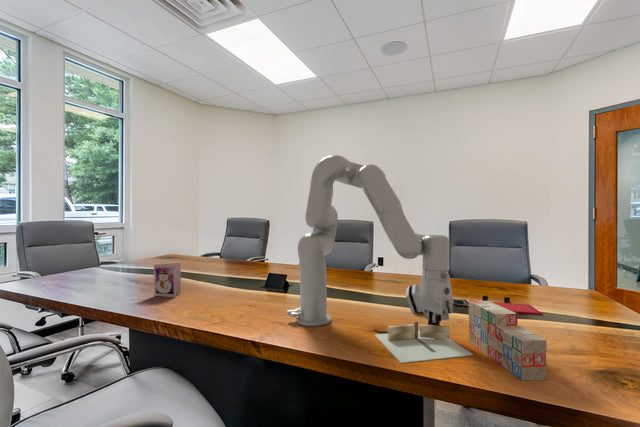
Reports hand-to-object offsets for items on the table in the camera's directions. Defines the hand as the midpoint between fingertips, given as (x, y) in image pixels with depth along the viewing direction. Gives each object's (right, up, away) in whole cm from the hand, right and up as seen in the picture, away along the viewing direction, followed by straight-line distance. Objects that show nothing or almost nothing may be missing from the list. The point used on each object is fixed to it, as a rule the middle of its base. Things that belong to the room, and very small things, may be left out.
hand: (433, 333), depth 92 cm
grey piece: (+4, -2, +29) cm, 29 cm away
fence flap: (-1, 0, -3) cm, 3 cm away
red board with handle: (+35, -2, +30) cm, 46 cm away
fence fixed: (-10, -1, -2) cm, 10 cm away
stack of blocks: (+13, -1, -14) cm, 19 cm away
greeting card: (-108, -2, +50) cm, 119 cm away
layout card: (-6, -1, -6) cm, 9 cm away
